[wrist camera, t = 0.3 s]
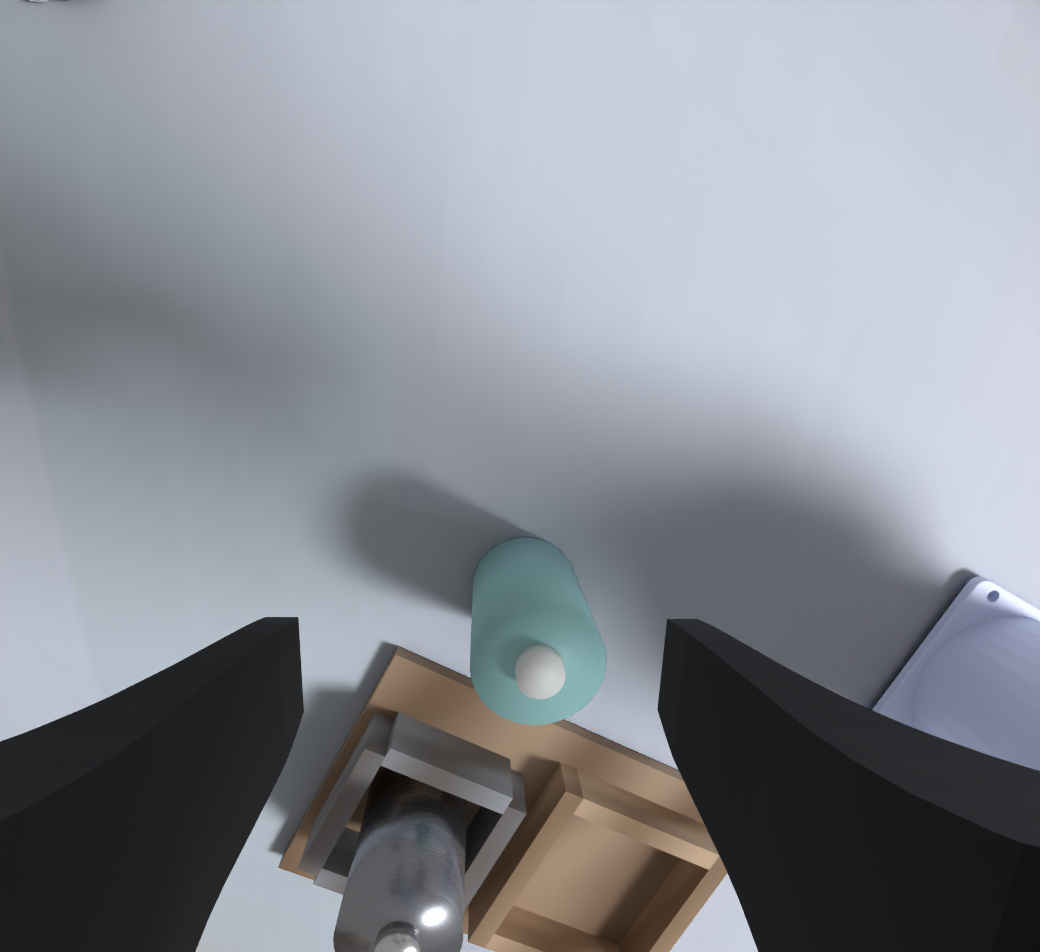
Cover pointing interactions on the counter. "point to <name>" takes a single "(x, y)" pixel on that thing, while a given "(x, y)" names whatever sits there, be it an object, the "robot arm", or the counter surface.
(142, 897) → the robot arm
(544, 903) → the wooden battery tray
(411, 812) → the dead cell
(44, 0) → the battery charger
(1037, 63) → the counter surface
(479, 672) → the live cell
